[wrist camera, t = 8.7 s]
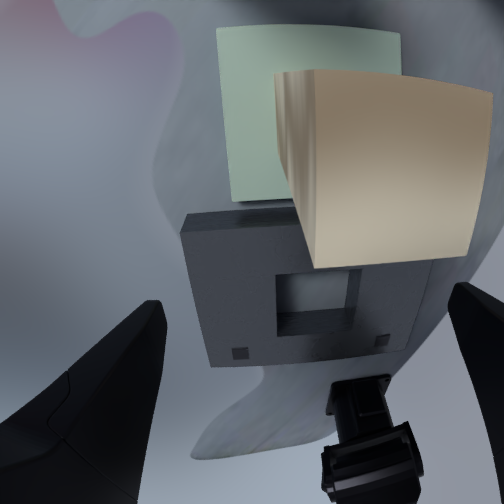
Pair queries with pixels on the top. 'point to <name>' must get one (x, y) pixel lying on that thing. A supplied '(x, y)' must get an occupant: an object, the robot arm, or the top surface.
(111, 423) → the robot arm
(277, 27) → the pad
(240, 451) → the top surface
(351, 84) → the peg
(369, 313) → the plate
